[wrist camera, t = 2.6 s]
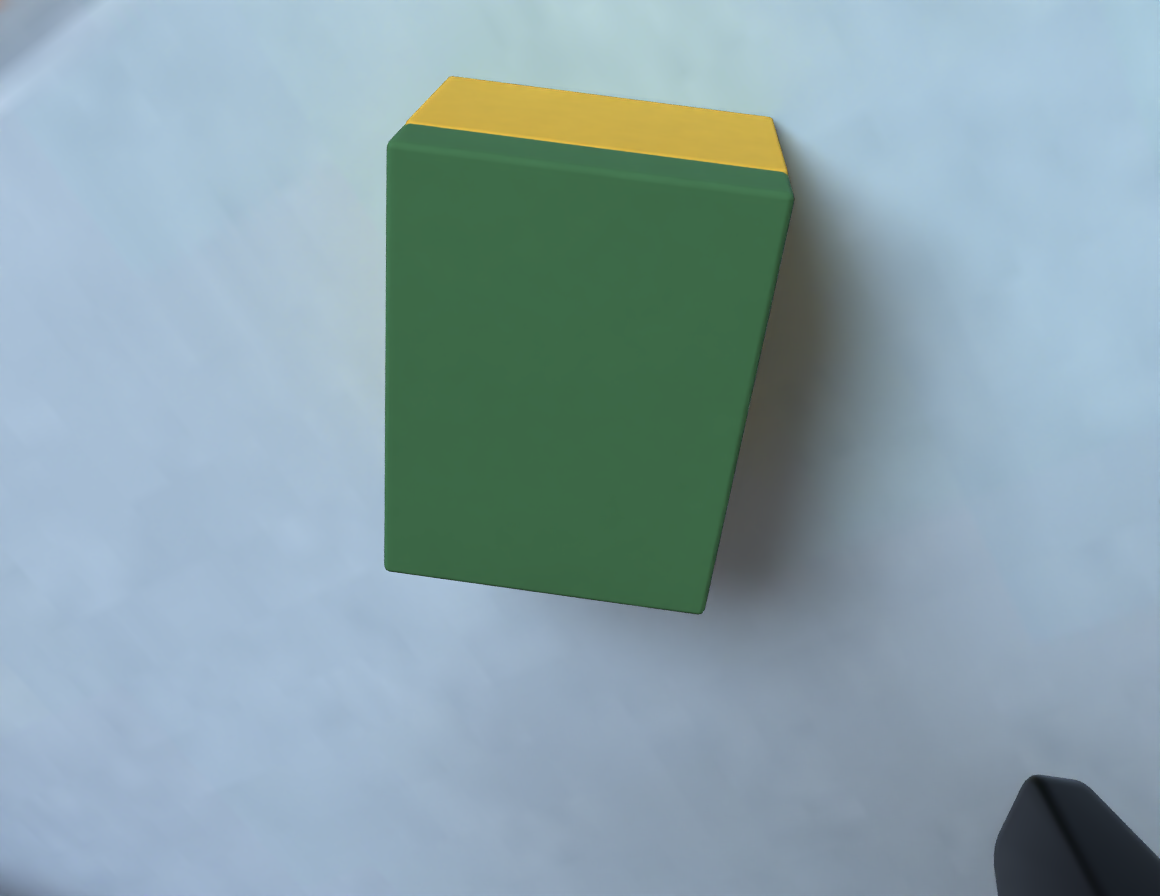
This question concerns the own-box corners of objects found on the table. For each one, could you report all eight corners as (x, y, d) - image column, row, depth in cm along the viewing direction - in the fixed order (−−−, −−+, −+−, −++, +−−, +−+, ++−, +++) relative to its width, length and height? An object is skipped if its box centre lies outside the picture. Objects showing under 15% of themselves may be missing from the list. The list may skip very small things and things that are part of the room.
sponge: (773, 116, 14) (797, 194, 11) (701, 480, 17) (703, 618, 14) (448, 74, 14) (383, 140, 11) (434, 444, 17) (382, 573, 14)
